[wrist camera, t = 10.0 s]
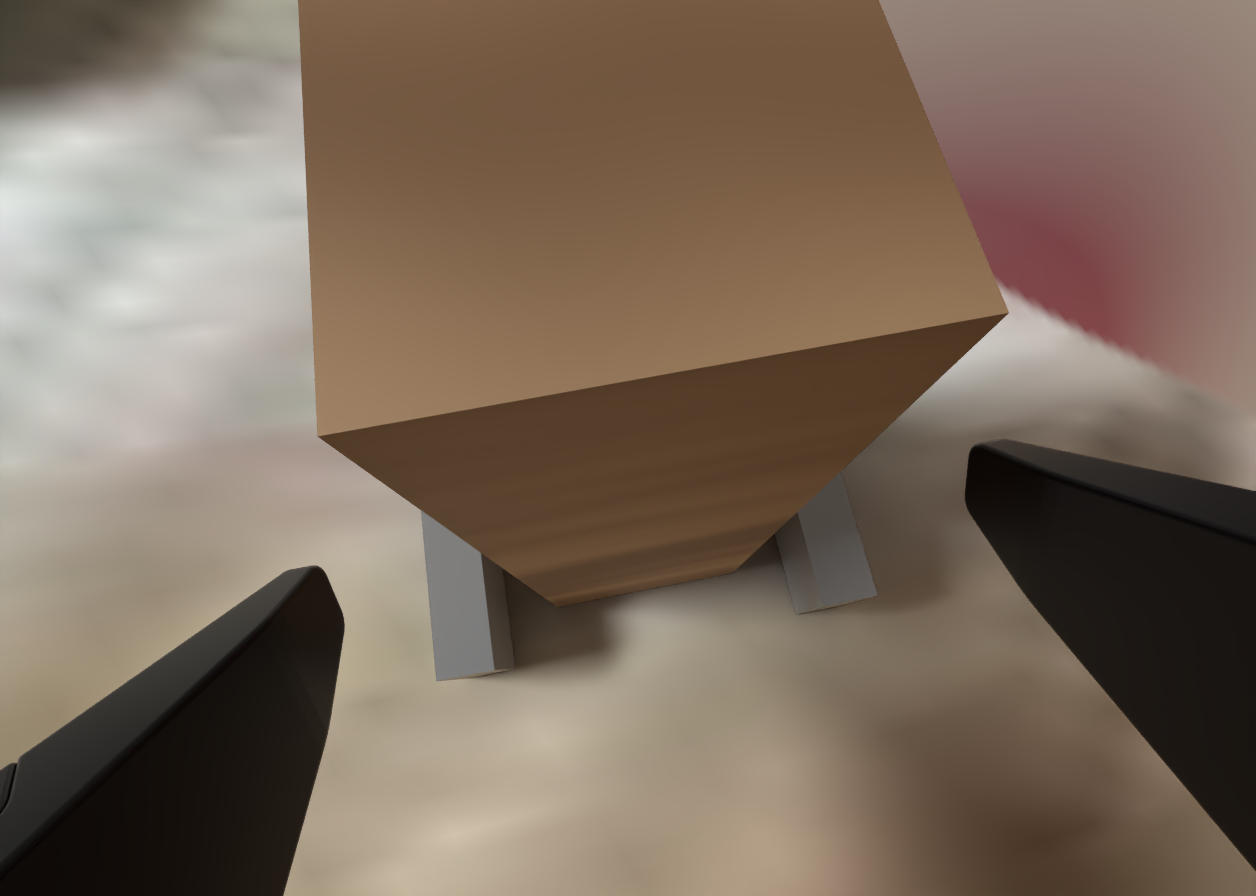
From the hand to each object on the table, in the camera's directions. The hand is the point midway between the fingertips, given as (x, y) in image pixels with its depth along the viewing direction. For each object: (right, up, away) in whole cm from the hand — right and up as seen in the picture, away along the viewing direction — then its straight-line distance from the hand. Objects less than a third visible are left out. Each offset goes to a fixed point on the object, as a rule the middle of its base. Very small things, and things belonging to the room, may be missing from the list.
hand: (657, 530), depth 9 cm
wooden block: (0, 0, +8) cm, 8 cm away
